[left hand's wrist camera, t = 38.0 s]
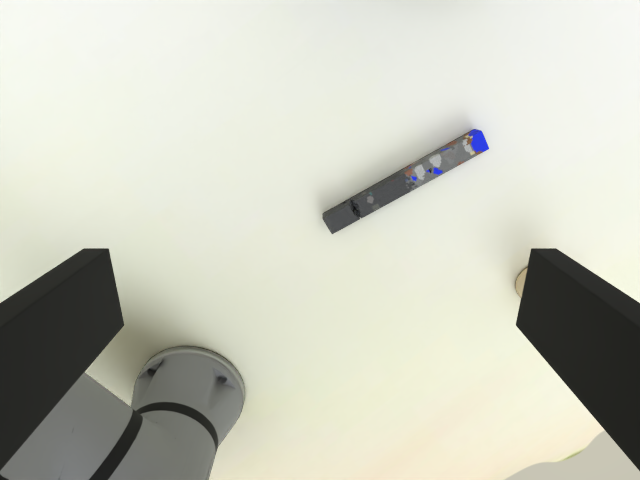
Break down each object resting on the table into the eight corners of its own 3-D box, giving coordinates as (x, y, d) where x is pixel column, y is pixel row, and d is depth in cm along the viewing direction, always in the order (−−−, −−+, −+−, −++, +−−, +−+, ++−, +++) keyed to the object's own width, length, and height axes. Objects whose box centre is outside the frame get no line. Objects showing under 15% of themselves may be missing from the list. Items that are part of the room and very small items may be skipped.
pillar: (322, 218, 45) (484, 129, 42) (322, 213, 47) (476, 127, 44) (332, 234, 46) (492, 147, 42) (331, 228, 48) (484, 144, 44)
